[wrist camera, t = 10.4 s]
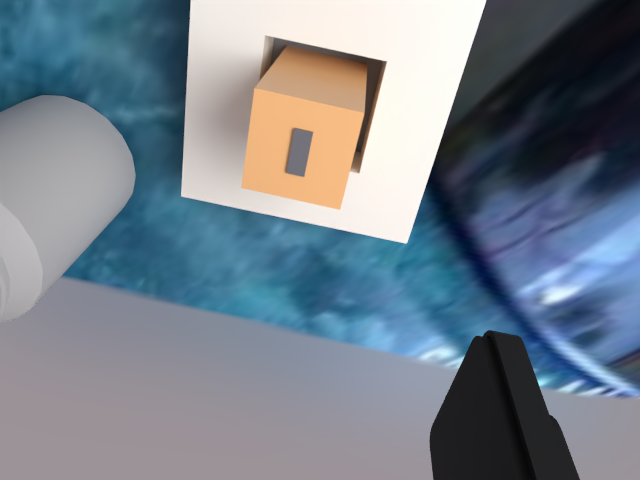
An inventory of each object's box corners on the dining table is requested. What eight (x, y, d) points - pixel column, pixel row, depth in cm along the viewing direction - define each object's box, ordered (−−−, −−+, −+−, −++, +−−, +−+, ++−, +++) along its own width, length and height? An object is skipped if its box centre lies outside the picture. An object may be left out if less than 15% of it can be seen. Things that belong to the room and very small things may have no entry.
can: (141, 105, 28) (3, 208, 17) (142, 224, 31) (29, 366, 21) (3, 77, 27) (-219, 163, 17) (21, 200, 31) (-152, 331, 21)
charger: (287, 45, 25) (254, 88, 18) (367, 63, 25) (364, 113, 18) (275, 123, 27) (240, 189, 20) (349, 140, 27) (340, 211, 20)
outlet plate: (214, -69, 23) (194, -69, 20) (475, -12, 23) (487, -5, 21) (198, 173, 29) (181, 196, 27) (404, 216, 29) (407, 243, 27)
